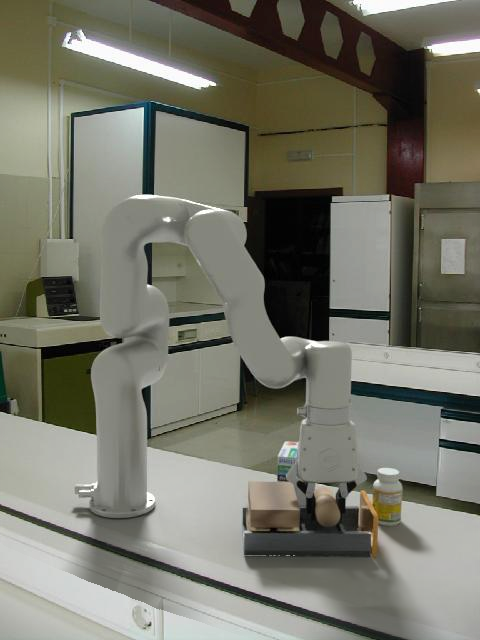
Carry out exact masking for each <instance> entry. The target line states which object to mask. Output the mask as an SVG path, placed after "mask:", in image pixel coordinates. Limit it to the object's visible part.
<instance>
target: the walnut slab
mask: <svg viewBox="0 0 480 640" xmlns="http://www.w3.org/2000/svg"><path fill="white" fill-rule="evenodd" d="M247 487H248V488H247V489H248V490H247V491H248V493H247V494H248V495H247V498H248V506H249V512H250V524H251V527H299V525H300V508H299V505H298V501H297V497H296V493H295V489H294V485H293V484H292V483H291V482H277V481H248V485H247Z"/></svg>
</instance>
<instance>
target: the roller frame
mask: <svg viewBox="0 0 480 640" xmlns="http://www.w3.org/2000/svg"><path fill="white" fill-rule="evenodd" d="M359 494H360V495H359V506H357V505H355V506H354V505H350V506H349V505H348V506H347V505H346V508H345V514H342V520H339V522H338V523H337V524H336V525H335V526H332V527H324V526H322V525H321V524H320V523H319V522H318V520H317V517H316V514H315V519H314V520H311V518H310V515H309V514H306V506H299V508H300V525H299V527H251V524H250V512H249V505H242V518H241V519H242V525H241V526H242V527H243V529H242V541H243V542H242V544H243V545H244V546H243V556H244V555H266V556H265V557H270V556H269V555H272V556H271V557H274V556H273V555H276V556H275V557H287V556H286V555H290V556H289V557H320V556H350V558H351V557H352V558H354V557H356V558H357V556H358V557H360V556H361V557H360V558H362V557H364V558H365V557H366V558H370V557H372V558H377V557H378V535H379V532H378V531H379V524H378V515H377V513H376V511H375V509H374V507H373V505H372V504H373V502H371V500H370V498H369V496H368V494H367V492H366V490H364V489H363V490H360V492H359ZM278 555H280V556H278ZM293 555H295V556H293ZM353 556H354V557H353Z"/></svg>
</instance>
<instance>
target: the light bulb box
mask: <svg viewBox="0 0 480 640" xmlns="http://www.w3.org/2000/svg"><path fill="white" fill-rule="evenodd" d="M297 449H298V441H284V443H283V445H282V447H281V449H280V451H279V453H278V454H277V462H276V463H277V467H276V469H277V471H276V472H277V474H276V475H277V477H276V482H289V481H288V480H287V479H286V474H287V473H288V471H289V470H290V468H291V467H292V466H293V464H294V463H295V461H296V460H297ZM296 476H297V477H298V478H299V476H298V474H297V475H296ZM293 485H294V484H293ZM294 489H295V493H296V497H297V501H298V505H299V506H306V495H305V494H304V493H303V492H302V491H301V490H300V489H299V488H298V487H297V486H296V485H294ZM315 490H316V486H315V487H314V491H315Z"/></svg>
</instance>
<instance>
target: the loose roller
mask: <svg viewBox="0 0 480 640" xmlns="http://www.w3.org/2000/svg"><path fill="white" fill-rule="evenodd" d="M314 495H315V498H316V507H315V514H316V517H317V520H318V522H319V523H320V524H321V525H322V526H324V527H332V526H335V525H336V524H337V523H338V522H339V520H340V511H339V508H338V506H337V503H336V500H335V499H336V497H335V496H334V493H333V491H332V490H331V489H330V488H328V487H326V486H325V487H324V486H322V487H317V488H315V491H314Z"/></svg>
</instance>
